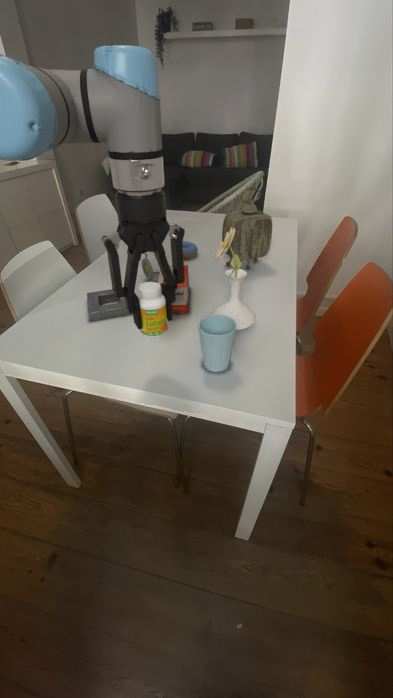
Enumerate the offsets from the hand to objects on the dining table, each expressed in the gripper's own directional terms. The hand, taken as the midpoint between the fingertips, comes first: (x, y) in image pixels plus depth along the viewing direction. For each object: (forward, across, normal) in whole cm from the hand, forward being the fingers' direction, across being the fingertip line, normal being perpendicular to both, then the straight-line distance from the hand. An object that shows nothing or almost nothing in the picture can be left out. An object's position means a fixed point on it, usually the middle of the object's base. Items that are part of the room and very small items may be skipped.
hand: (153, 321), depth 61 cm
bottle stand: (+13, -2, +31) cm, 34 cm away
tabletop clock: (+12, +46, +36) cm, 60 cm away
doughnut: (+12, +32, +55) cm, 65 cm away
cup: (+12, +12, -5) cm, 18 cm away
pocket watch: (+13, +16, +42) cm, 46 cm away
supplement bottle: (+3, 0, 0) cm, 3 cm away
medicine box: (+12, +16, +26) cm, 32 cm away
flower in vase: (+12, +23, +7) cm, 27 cm away
